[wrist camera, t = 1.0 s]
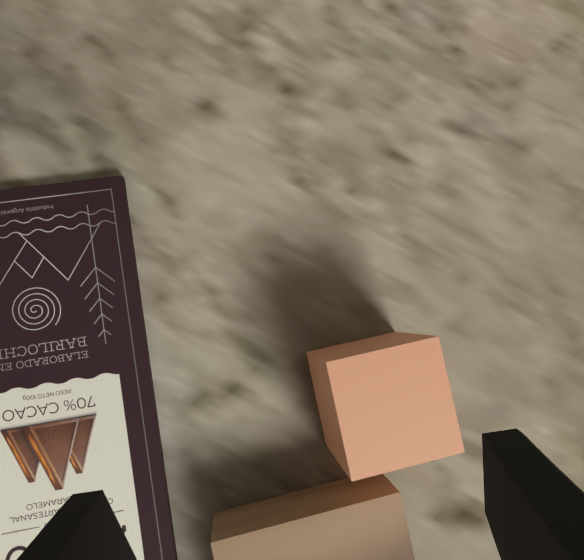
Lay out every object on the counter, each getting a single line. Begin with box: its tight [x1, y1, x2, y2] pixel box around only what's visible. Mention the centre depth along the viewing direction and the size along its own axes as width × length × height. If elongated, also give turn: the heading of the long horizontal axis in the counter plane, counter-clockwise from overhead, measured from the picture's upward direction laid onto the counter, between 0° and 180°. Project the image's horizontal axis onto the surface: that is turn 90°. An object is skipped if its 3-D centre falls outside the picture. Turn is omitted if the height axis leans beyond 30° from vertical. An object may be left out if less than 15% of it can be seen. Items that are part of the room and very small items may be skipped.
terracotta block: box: [306, 332, 465, 481], centre depth 22 cm, size 4×4×6 cm
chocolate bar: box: [0, 176, 178, 560], centre depth 23 cm, size 9×1×18 cm
